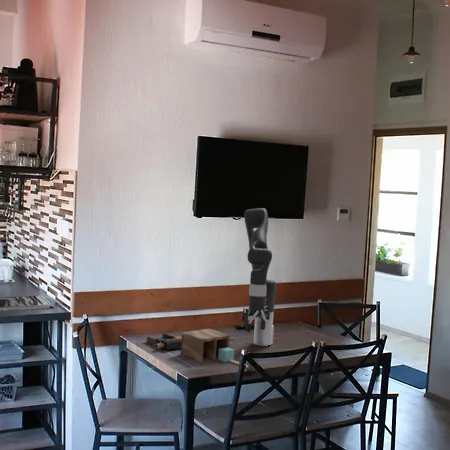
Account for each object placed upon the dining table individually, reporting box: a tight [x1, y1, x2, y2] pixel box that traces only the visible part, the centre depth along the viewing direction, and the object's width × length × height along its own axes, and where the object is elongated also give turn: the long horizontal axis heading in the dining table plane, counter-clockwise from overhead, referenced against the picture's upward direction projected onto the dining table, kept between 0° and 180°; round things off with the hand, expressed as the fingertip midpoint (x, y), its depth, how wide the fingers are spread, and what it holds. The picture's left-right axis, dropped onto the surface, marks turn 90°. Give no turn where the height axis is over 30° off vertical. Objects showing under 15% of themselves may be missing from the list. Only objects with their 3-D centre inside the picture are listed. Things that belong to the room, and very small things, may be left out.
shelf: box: [180, 328, 231, 362], centre depth 293 cm, size 17×15×10 cm
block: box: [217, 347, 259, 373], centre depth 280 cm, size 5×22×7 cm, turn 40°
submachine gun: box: [146, 333, 182, 351], centre depth 311 cm, size 29×5×25 cm
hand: (255, 330), depth 272 cm, fingers open, 8 cm apart
